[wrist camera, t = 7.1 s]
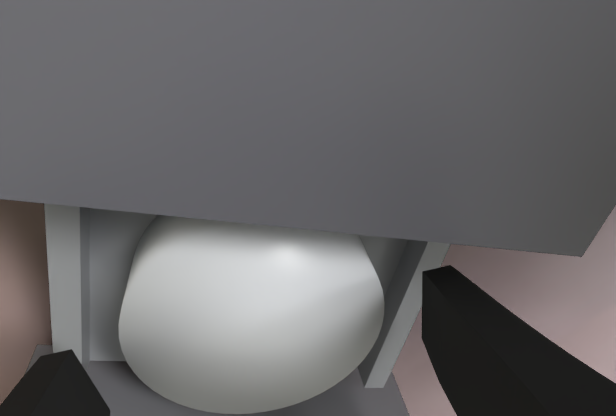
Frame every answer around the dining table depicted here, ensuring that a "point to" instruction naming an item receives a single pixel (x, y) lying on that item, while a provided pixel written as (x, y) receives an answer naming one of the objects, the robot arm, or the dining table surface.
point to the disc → (247, 313)
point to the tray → (111, 289)
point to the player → (319, 114)
